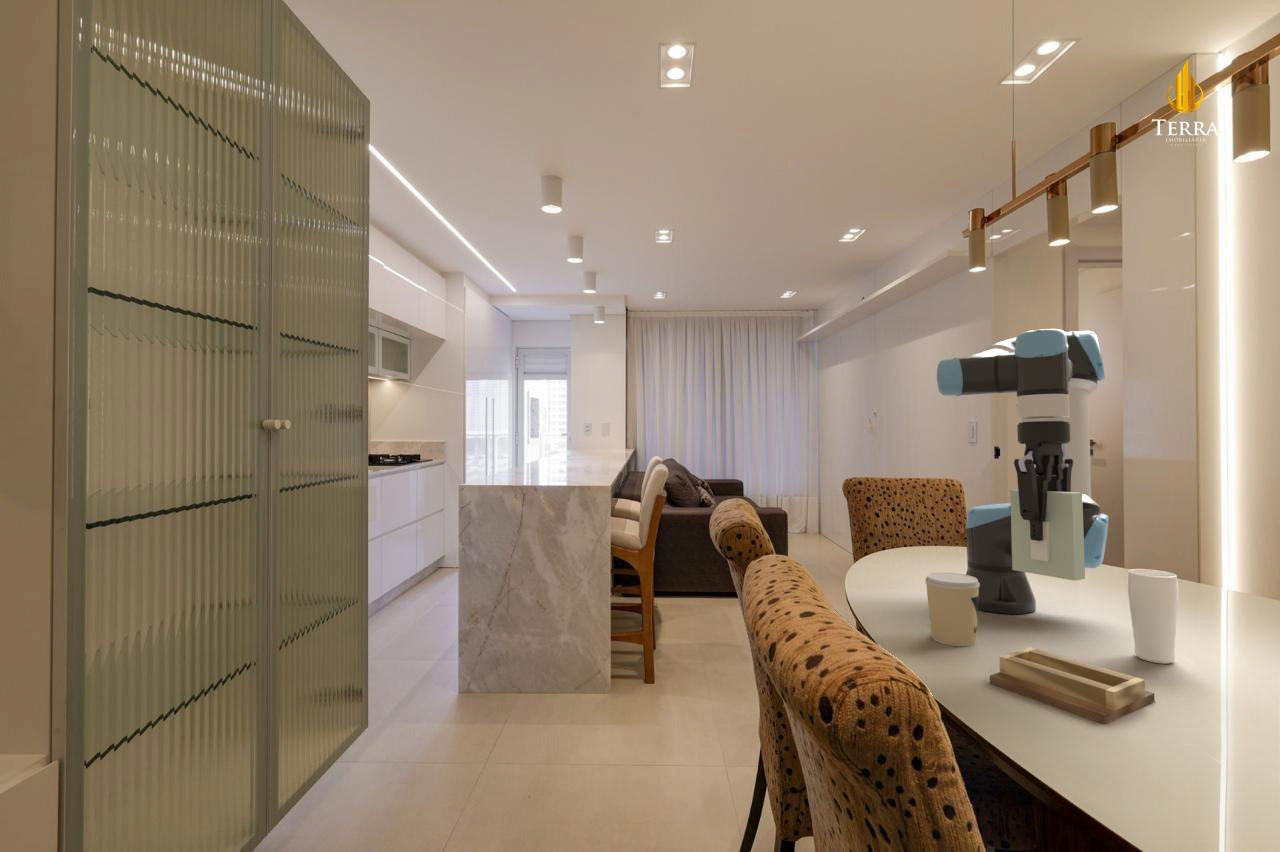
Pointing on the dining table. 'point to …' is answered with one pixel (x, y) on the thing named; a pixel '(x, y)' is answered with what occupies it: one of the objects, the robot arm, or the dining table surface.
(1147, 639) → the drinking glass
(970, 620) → the coffee cup
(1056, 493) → the door panel
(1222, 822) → the dining table surface
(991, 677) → the track board
